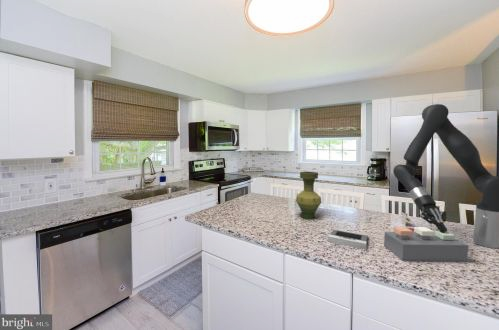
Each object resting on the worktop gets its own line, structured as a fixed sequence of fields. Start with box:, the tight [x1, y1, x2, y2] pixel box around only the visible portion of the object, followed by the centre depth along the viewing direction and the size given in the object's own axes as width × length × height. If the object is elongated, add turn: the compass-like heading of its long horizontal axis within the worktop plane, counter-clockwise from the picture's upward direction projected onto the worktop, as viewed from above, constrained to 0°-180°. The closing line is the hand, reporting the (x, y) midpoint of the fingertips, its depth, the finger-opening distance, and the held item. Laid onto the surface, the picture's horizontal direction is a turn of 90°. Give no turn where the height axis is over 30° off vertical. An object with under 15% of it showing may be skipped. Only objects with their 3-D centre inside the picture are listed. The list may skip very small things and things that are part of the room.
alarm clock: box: [327, 228, 369, 250], centre depth 117 cm, size 17×5×16 cm
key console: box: [383, 231, 469, 263], centre depth 101 cm, size 26×14×7 cm, turn 88°
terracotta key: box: [393, 226, 413, 240], centre depth 101 cm, size 5×5×6 cm
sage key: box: [434, 230, 456, 240], centre depth 101 cm, size 5×5×6 cm
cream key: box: [414, 226, 435, 240], centre depth 101 cm, size 5×5×6 cm
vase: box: [295, 171, 322, 221], centre depth 151 cm, size 16×16×30 cm
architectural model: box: [401, 211, 414, 227], centre depth 136 cm, size 3×7×7 cm, turn 166°
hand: (444, 231), depth 100 cm, fingers closed
